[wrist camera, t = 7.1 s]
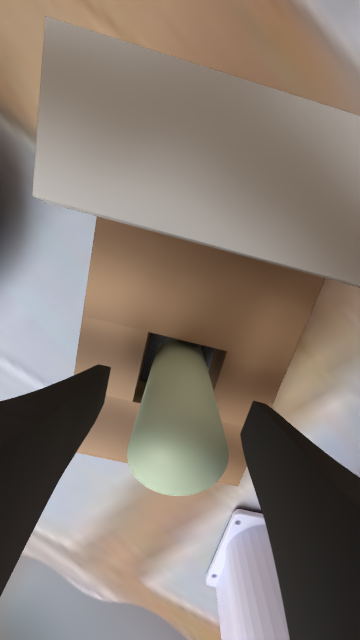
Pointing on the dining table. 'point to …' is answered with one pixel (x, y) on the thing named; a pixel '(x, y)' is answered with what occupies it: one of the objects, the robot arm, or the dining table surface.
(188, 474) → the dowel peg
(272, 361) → the socket board
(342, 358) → the dining table surface
